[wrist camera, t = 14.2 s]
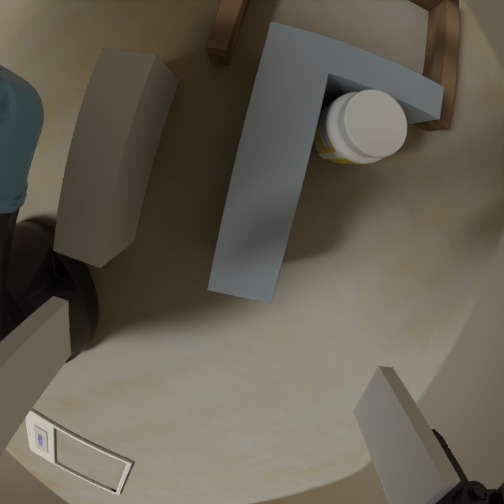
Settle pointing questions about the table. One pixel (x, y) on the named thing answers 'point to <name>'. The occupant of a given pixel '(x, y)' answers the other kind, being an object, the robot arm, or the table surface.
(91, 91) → the plain bar
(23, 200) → the robot arm
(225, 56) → the wooden u-shaped frame
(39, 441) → the photo frame
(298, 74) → the grey l-shaped block
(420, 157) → the table surface
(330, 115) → the supplement bottle
